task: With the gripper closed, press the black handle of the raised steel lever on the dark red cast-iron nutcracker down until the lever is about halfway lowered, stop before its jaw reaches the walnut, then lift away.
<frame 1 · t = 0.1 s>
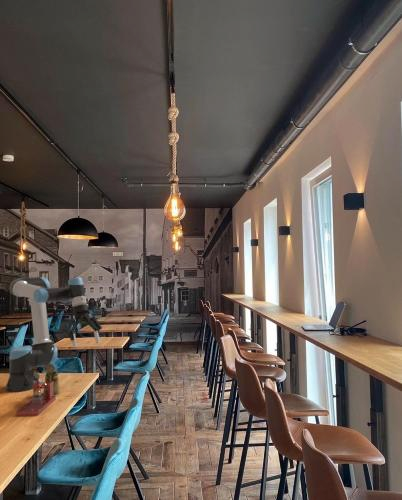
hand: (86, 345, 223), 28 cm above the table, tool tilted 20°, fingers open, 13 cm apart
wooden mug: (50, 394, 232), on the table
nutcracker lever: (37, 380, 210), point 13 cm above the table, hinge at 30.0°
nutcracker base: (37, 407, 209), on the table
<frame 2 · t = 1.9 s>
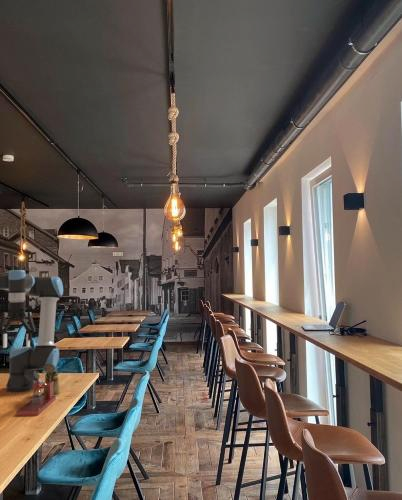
hand: (16, 347, 208), 30 cm above the table, tool pointing down, fingers open, 10 cm apart
nothing on the table moved.
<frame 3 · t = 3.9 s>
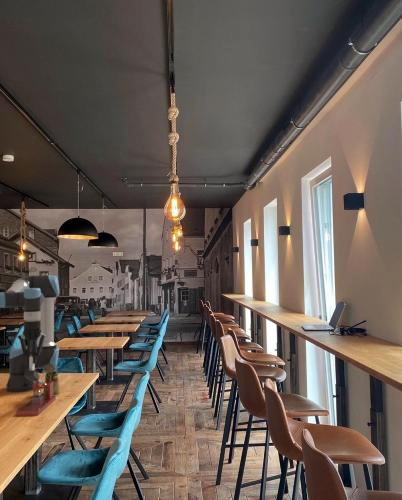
hand: (31, 370, 203), 19 cm above the table, tool pointing down, fingers closed
nutcracker lever: (37, 380, 210), point 13 cm above the table, hinge at 29.8°, touching gripper
everything else where it was.
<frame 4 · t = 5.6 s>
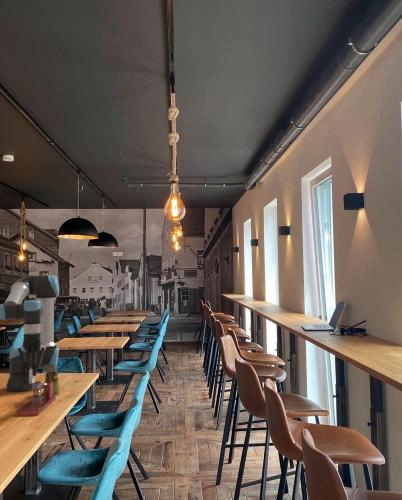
hand: (31, 382, 203), 14 cm above the table, tool pointing down, fingers closed
nutcracker lever: (36, 386, 208), point 10 cm above the table, hinge at 13.4°, touching gripper
everything else where it was.
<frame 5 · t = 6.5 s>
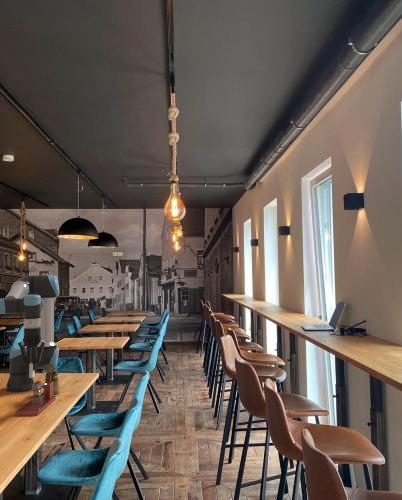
hand: (32, 377, 204), 16 cm above the table, tool pointing down, fingers closed
nutcracker lever: (36, 386, 208), point 10 cm above the table, hinge at 13.4°
everything else where it was.
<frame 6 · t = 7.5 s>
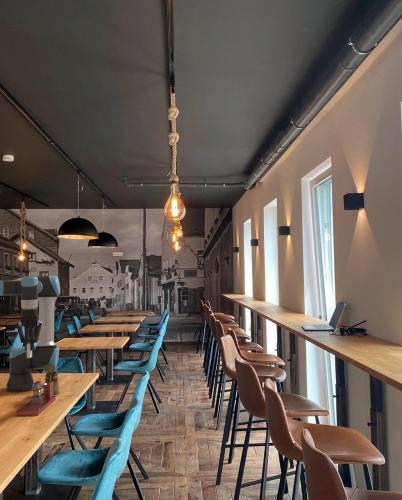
hand: (29, 357, 206), 25 cm above the table, tool pointing down, fingers closed
nothing on the table moved.
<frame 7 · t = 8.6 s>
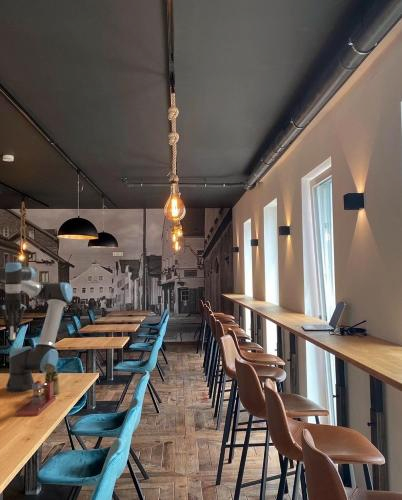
hand: (12, 339, 218), 32 cm above the table, tool pointing down, fingers closed
nothing on the table moved.
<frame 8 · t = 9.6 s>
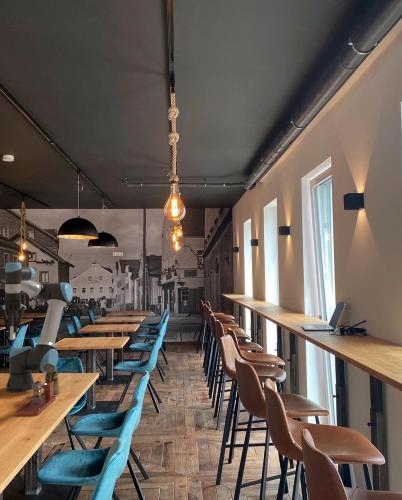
hand: (12, 339, 218), 32 cm above the table, tool pointing down, fingers closed
nothing on the table moved.
at the end: nutcracker lever at +13° (first picture: +30°) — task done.
